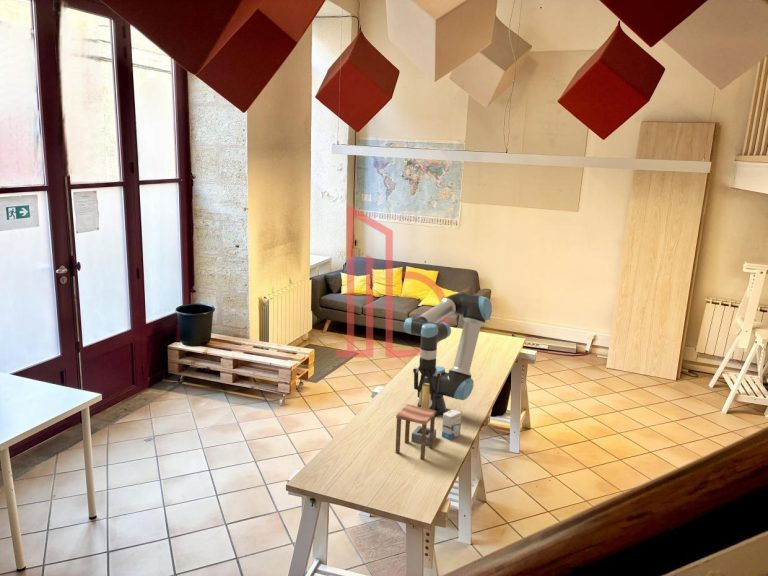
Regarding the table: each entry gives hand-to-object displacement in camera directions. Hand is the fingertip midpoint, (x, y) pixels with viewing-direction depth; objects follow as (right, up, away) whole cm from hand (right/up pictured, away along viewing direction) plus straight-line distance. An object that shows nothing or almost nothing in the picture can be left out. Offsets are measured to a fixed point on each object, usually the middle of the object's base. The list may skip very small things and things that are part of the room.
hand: (425, 404), depth 279 cm
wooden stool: (-5, -19, -7) cm, 21 cm away
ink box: (+13, -17, +9) cm, 23 cm away
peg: (0, -4, +1) cm, 4 cm away
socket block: (0, -17, +4) cm, 18 cm away
